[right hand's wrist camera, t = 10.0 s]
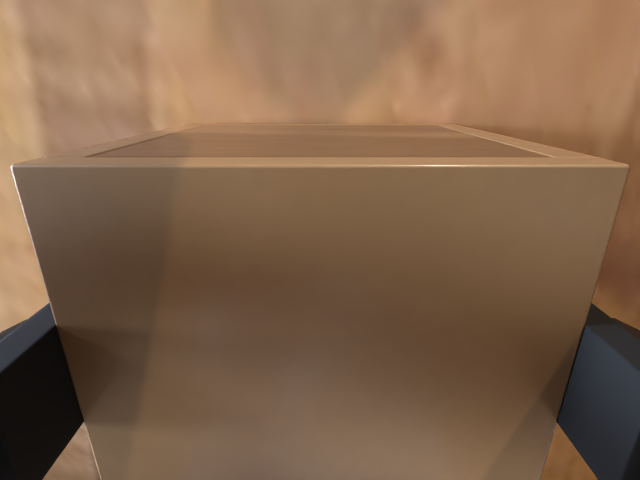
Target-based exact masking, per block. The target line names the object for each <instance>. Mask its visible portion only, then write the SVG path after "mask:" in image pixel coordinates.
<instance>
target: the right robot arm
mask: <svg viewBox="0 0 640 480" xmlns="http://www.w3.org/2000/svg"><path fill="white" fill-rule="evenodd" d="M83 422H84V420H83V417H82V413H81V410H80V406H79V403H78V399H77V396H76V392H75V389H74V385H73V382H72V379H71V375H70V372H69V368H68V365H67V361H66V358H65V354H64V351H63V347H62V344H61V341H60V337H59V334H58V330H57V327H56V323H55V320H54V316H53V313H52V309H51V306H50V303H48V304H47V305H46V306H44V307H43V308H42V309H41V310H39V311H38V312H37V313H35V314H34V315H33V316H31V317H30V318H29V319H28V320H25V321H23V322H21V323H19V324H16V325H14V326H12V327H10V328H8V329H6V330H4V331H2V332H1V333H0V480H42V479H43V478H44V476H45V475H46V473H47V472H48V471H49V469H50V468H51V466H52V465H53V464H54V462H55V461H56V459H57V458H58V457H59V455H60V454H61V453H62V451H63V450H64V448H65V447H66V446H67V444H68V443H69V441H70V440H71V439H72V437H73V436H74V435H75V433H76V432H77V430H78V429H79V428H80V426H81V425H82V423H83ZM557 423H558V424H559V426H560V427H561V428H562V430H563V431H564V433H565V434H566V435H567V437H568V438H569V439H570V441H571V442H572V444H573V445H574V446H575V448H576V449H577V451H578V452H579V453H580V455H581V456H582V458H583V459H584V460H585V462H586V463H587V464H588V466H589V467H590V469H591V470H592V471H593V473H594V474H595V476H596V477H597V478H598V480H640V331H639V330H637V329H635V328H633V327H631V326H629V325H627V324H625V323H623V322H621V321H619V320H617V319H615V318H610V317H609V316H608V315H606V314H605V313H604V312H602V311H601V310H600V309H599V308H597V307H596V306H595V305H593V304H592V303H591V305H590V309H589V312H588V316H587V319H586V323H585V326H584V329H583V333H582V336H581V340H580V343H579V347H578V350H577V354H576V357H575V361H574V364H573V367H572V371H571V374H570V378H569V381H568V385H567V388H566V392H565V395H564V399H563V402H562V405H561V409H560V412H559V416H558V419H557Z"/></svg>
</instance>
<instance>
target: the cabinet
mask: <svg viewBox="0 0 640 480" xmlns="http://www.w3.org/2000/svg"><path fill="white" fill-rule="evenodd" d="M11 171H12V175H13V178H14V182H15V185H16V188H17V192H18V195H19V199H20V202H21V206H22V209H23V213H24V216H25V220H26V223H27V226H28V230H29V233H30V237H31V240H32V244H33V247H34V251H35V254H36V258H37V261H38V264H39V268H40V271H41V275H42V278H43V282H44V285H45V289H46V292H47V296H48V299H49V303H50V306H51V309H52V313H53V316H54V320H55V323H56V327H57V330H58V334H59V337H60V341H61V344H62V347H63V351H64V354H65V358H66V361H67V365H68V368H69V372H70V375H71V379H72V382H73V385H74V389H75V392H76V396H77V399H78V403H79V406H80V410H81V413H82V417H83V420H84V423H85V427H86V430H87V434H88V437H89V441H90V444H91V448H92V451H93V455H94V458H95V461H96V465H97V468H98V472H99V475H100V479H101V480H540V478H541V475H542V471H543V468H544V464H545V461H546V457H547V454H548V450H549V447H550V443H551V440H552V437H553V433H554V430H555V426H556V423H557V419H558V416H559V412H560V409H561V405H562V402H563V399H564V395H565V392H566V388H567V385H568V381H569V378H570V374H571V371H572V367H573V364H574V361H575V357H576V354H577V350H578V347H579V343H580V340H581V336H582V333H583V329H584V326H585V323H586V319H587V316H588V312H589V309H590V305H591V302H592V298H593V295H594V291H595V288H596V285H597V281H598V278H599V274H600V271H601V267H602V264H603V260H604V257H605V254H606V250H607V247H608V243H609V240H610V236H611V233H612V229H613V226H614V222H615V219H616V216H617V212H618V209H619V205H620V202H621V198H622V195H623V191H624V188H625V184H626V181H627V178H628V174H629V171H630V166H629V165H628V164H625V163H621V162H616V161H612V160H608V159H603V158H599V157H595V156H591V155H587V154H582V153H578V152H574V151H569V150H565V149H561V148H556V147H552V146H548V145H543V144H539V143H535V142H530V141H526V140H522V139H517V138H513V137H509V136H504V135H500V134H496V133H491V132H487V131H483V130H478V129H474V128H470V127H465V126H461V125H455V124H185V125H181V126H176V127H172V128H168V129H164V130H159V131H155V132H151V133H146V134H142V135H138V136H133V137H129V138H125V139H120V140H116V141H112V142H107V143H103V144H99V145H94V146H90V147H86V148H81V149H77V150H73V151H68V152H64V153H60V154H55V155H51V156H47V157H42V158H38V159H33V160H29V161H25V162H20V163H16V164H13V165H11Z"/></svg>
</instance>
